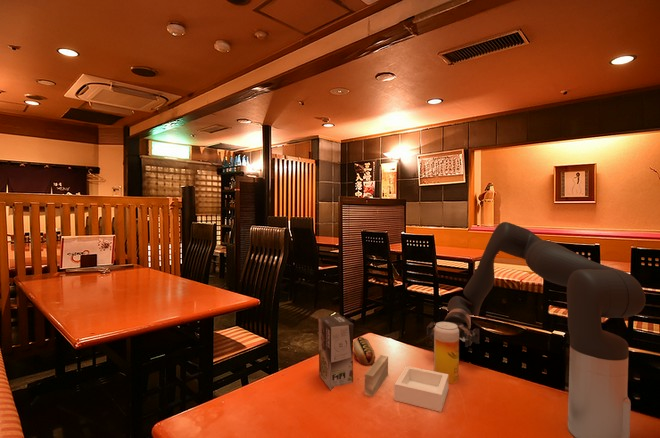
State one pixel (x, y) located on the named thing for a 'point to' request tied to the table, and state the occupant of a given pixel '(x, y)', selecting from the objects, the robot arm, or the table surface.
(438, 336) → the beer can
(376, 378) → the backstop board
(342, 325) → the coffee box
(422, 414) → the table surface
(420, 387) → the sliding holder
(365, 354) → the hot dog
